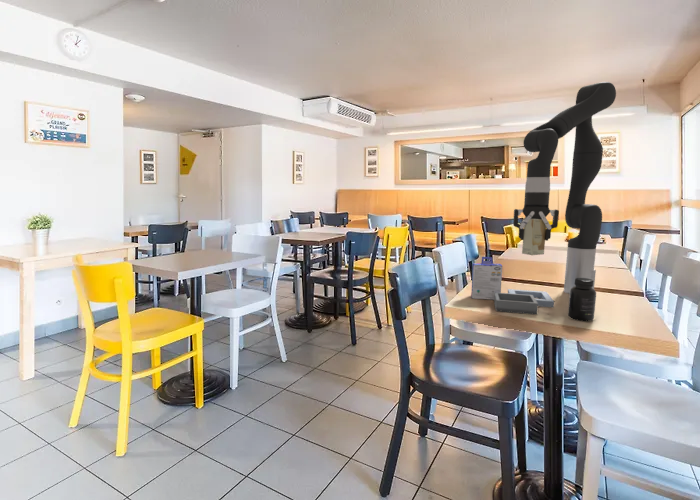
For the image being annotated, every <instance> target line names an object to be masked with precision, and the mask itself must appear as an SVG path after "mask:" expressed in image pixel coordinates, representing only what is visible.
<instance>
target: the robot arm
mask: <svg viewBox="0 0 700 500" xmlns="http://www.w3.org/2000/svg"><path fill="white" fill-rule="evenodd" d="M579 88H580V89H579V90H578V91H577V93H576V98H575V104H574V105H573V106H569V107H568V108H566V109H563V111H560V112H558V114H557V115H555V116H553V117H552V118H551V119H550V120H549V121H547V122H545V123H543V124H541V125H539V126H536V127H535V128H533V129H531V130H529V132H528V133H527V134H525V137H524V139H523V148H524V149H525V150H526V151H527V152H529V153H538V154H537V157H535V158H533V159H530V160H529V161H528V163H527V167H526V170H527V171H526V180H525V186H524V187H525V189H524V202H523V203H524V205H523V208H522V209H517V208H515V209H513V223H512V224H513V226H514V227H515V228H518V238H519V239H520V241H521V240H522V241H523V237H524V226H525V225H526V224H527V223H528V220H529V219H542V220H543V222H544V224H545V225H546V235H545V242H546V241H549V240H550V239H551V237H552V230H553V229H557V228H558V225H559V215H560V214H559V213H560V211H559V210H558V209H550V191H551V179H550V177H551V166H552V162H553V160H554V156H555V154H556V150H557V148H558V144H559V139H561V138H563V137H564V136H566V135H567V134H569V133H570V132H571V131H572V130H573V129H575V133H574V134H575V136H574V146H573V153H572V154H573V156H572V168H571V176H570V177H571V179H570V185H569V187H570V188H569V193H568V196H567V197H568V198H567V202H566V207H565V213H564V221H565V224H566V226H568V227H569V228H570V229H577V230H578V229H579V232H578V235H577V236H574V237H572V238H569V239H568V240H567V250H566V262H565V272H564V273H565V275H564V284H563V292H564V293H565V294H568V295H570V290H571V288H572V287H574V286H575V285H574V283H575V278H588V279H592V280H593V281H594V282H593V287H592V288H593V289H594V290H595V283H596V282H595V281H596V275H597V274H596V272H597V270H596V269H595V263H596V262H595V261H596V251H597V244H598V243H599V240H600V237H601V236H600V235H601V230H602V223H603V212H602V209H601V207H600V206H598V204H592V203H590V204H588V203H586V197H587V193H588V190H589V187H590V186H591V184H592V183H593V182H594V180H595V179H596V177H597V176H598V174H599V172H600V171H601V168H602V163H603V162H602V161H603V154H604V148H603V145H602V142H601V140H600V139H599V137H598V135H597V134H596V131H595V130H594V126H593V119H592V118H593V116H595V115H596V114H598V113H600V112H602V111H604V110H606V109H608V108H610V107H611V106H612V105H613V104H614V103H615V101H616V96H617V91H616V86H615V85H614V84H613V83H612V82H610V81H601V82H596V83H592V84H588V85H584V86H582V87H579ZM521 214H523V216H524V218H523V219H522V221H521V222H520V223H519V216H521ZM548 215H550V216H551V217H552V222H551V223H552V224H550V223H549V220H548V219H547V216H548Z"/></svg>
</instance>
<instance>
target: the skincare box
mask: <svg viewBox="0 0 700 500" xmlns="http://www.w3.org/2000/svg"><path fill="white" fill-rule="evenodd" d="M523 229H524V237H523V240H522V249H521V250H522V251H521V254H522V255H523V254H524V255H528V256H540V255H544V254H545V244H546V240H545V235H546V225H545V224H544V222H543V220H542V219H529V220H528V223H527V224H526V225H525V226H524V228H523Z"/></svg>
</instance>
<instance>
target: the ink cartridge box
mask: <svg viewBox="0 0 700 500" xmlns="http://www.w3.org/2000/svg"><path fill="white" fill-rule="evenodd" d="M502 276H503V265H502V264H501V263H493V257H491V256H481V263H480V262H472V269H471V293H470V298H471V299H476V300H477V299H478V300H491V301H492V300H493V301H494V293H495V292H497V293H502V280H503V279H502V278H503V277H502Z"/></svg>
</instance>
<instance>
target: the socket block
mask: <svg viewBox="0 0 700 500" xmlns="http://www.w3.org/2000/svg"><path fill="white" fill-rule="evenodd" d="M507 293H511V294H525V295H533V296H534V298H535V299H536V301H537V303H538V307H541V308H543V307H545V308H554V307H555V301H554V300H553V298H552V296H550V294H549V293H548V292H547V291H543V290H542V291H541V290H530V289H529V290H527V289H512V288H507Z"/></svg>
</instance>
